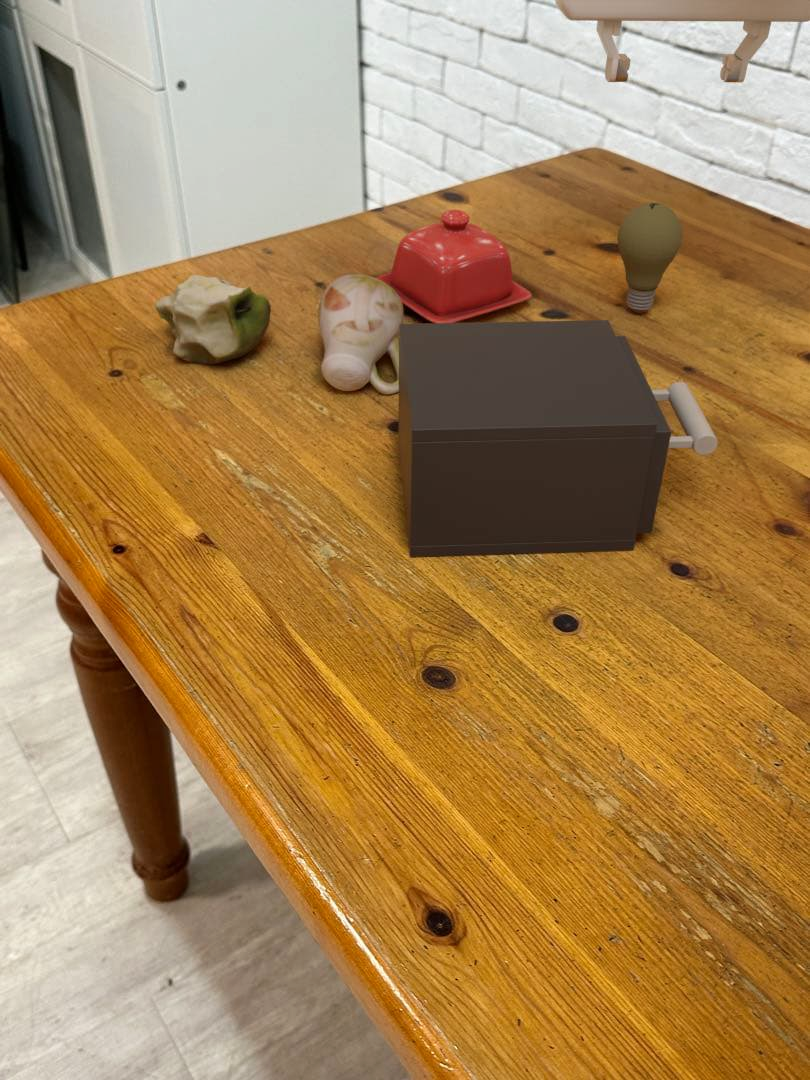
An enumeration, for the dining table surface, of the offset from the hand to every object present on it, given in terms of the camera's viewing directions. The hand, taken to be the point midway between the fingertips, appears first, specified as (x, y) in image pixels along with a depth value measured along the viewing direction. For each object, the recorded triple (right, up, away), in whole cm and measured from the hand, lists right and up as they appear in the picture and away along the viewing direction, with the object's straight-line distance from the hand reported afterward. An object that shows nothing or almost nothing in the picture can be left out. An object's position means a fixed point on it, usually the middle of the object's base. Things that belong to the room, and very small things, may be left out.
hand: (673, 80), depth 84 cm
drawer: (-10, -33, -10) cm, 36 cm away
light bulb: (0, -16, +13) cm, 21 cm away
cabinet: (-14, -33, -10) cm, 38 cm away
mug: (-25, -23, +4) cm, 34 cm away
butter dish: (-17, -14, +15) cm, 27 cm away
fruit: (-37, -20, +7) cm, 43 cm away
